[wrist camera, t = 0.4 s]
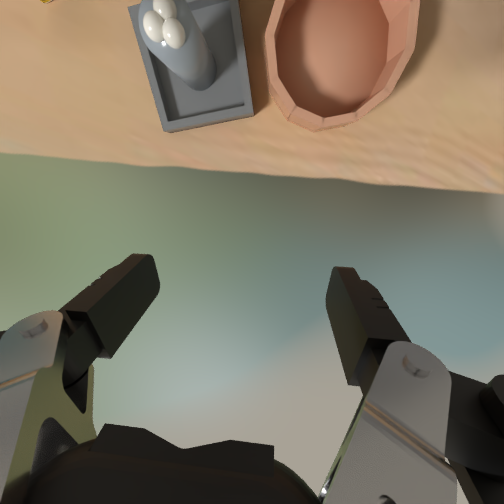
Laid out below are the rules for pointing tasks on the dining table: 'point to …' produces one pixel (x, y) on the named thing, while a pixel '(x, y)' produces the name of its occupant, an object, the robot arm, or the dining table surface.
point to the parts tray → (227, 77)
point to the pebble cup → (177, 41)
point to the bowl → (336, 57)
